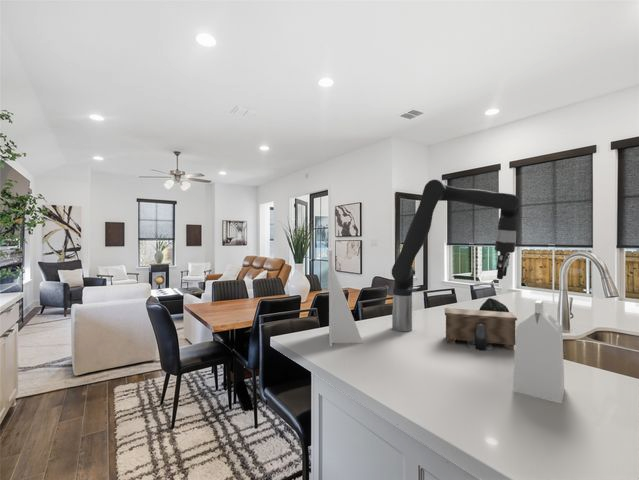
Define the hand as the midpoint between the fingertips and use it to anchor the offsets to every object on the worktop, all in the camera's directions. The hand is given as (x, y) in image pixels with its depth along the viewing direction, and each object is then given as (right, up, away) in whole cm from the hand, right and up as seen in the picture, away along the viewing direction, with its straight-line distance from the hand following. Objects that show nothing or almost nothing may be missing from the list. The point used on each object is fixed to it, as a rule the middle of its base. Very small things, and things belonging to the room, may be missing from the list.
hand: (501, 277), depth 144 cm
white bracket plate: (-68, -28, +2) cm, 74 cm away
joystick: (-13, -28, -7) cm, 32 cm away
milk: (-15, -28, -47) cm, 57 cm away
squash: (+11, -28, +27) cm, 41 cm away
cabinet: (-11, -28, -3) cm, 30 cm away
